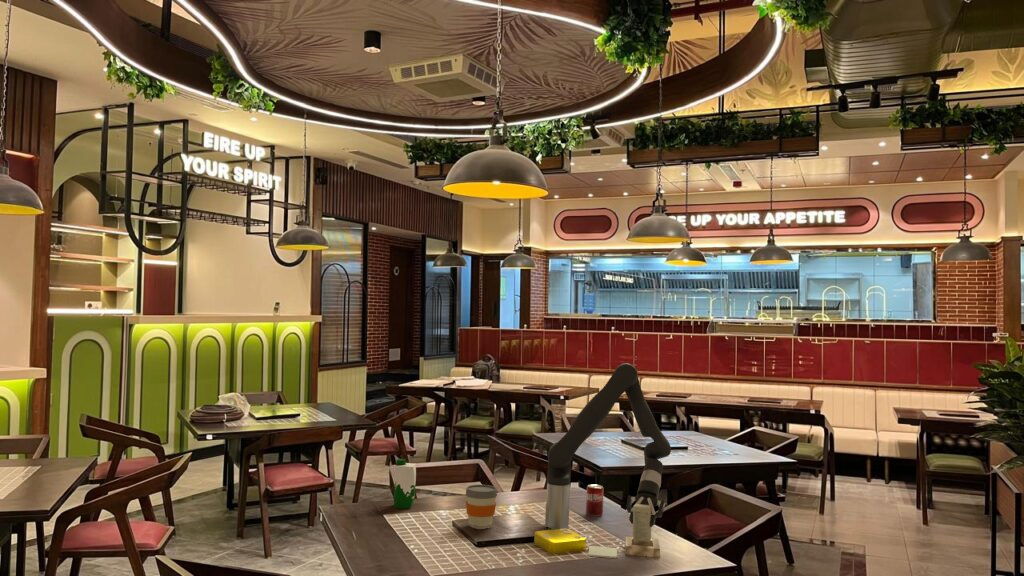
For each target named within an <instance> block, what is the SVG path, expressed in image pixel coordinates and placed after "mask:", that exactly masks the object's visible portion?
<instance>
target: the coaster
mask: <svg viewBox="0 0 1024 576" xmlns="http://www.w3.org/2000/svg"><path fill="white" fill-rule="evenodd" d="M588 548H589V549H588V555H587V556H588V557H596V558H606V559H607V558H608V559H618V547H609V546H594V545H589V547H588Z"/></svg>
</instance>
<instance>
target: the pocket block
mask: <svg viewBox="0 0 1024 576" xmlns="http://www.w3.org/2000/svg"><path fill="white" fill-rule="evenodd" d="M624 550H625V556H634V555H637V556H636V557H646V556H647V557H648V558H658V557H659V559H660V558H661V547H660V540H659V539H658V538H651V540H650V542H647V541H639V540H633V536H625V549H624Z"/></svg>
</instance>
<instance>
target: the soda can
mask: <svg viewBox="0 0 1024 576" xmlns="http://www.w3.org/2000/svg"><path fill="white" fill-rule="evenodd" d="M604 489H605V488H604V487H603V485H601V484H588V485H587V486H586V498H585V499H586V503H585V506H586V508H585V513H586V514H588V515H587V516H590V515H591V517H602V515H604Z"/></svg>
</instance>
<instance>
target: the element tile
mask: <svg viewBox="0 0 1024 576" xmlns="http://www.w3.org/2000/svg"><path fill="white" fill-rule="evenodd" d="M533 542H534V545H536V546H537V547H540V548H541V549H542V550H544V551H546V552H547V553H549V554H564V553H573V551H574V552H582V551H585V550H586V547H587V545H586V544H587V539H586V537H584V536H583V535H581V534H579V533H578V532H575V531H574V530H571V529H569V528H564V529H545V530H544V529H543V530H536V531H535V532H534V540H533Z"/></svg>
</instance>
